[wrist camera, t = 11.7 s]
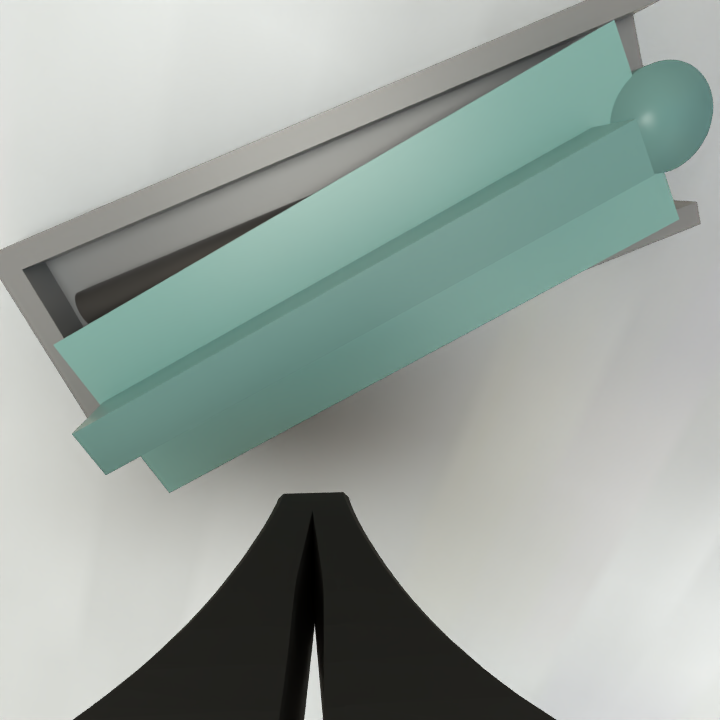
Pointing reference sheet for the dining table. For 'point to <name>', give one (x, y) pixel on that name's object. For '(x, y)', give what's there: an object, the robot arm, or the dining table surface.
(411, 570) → the dining table surface
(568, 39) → the grey open box
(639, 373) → the dining table surface
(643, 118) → the cover
